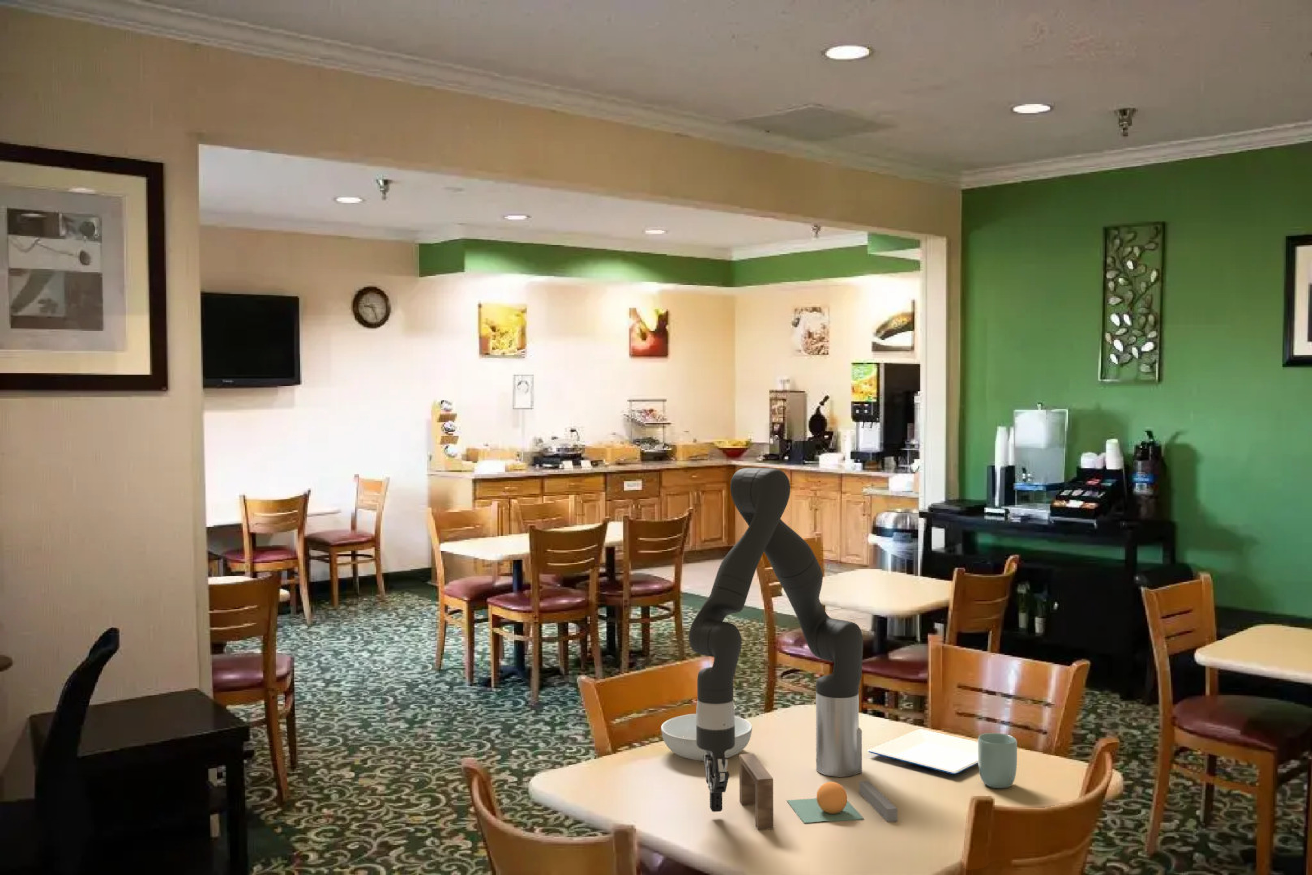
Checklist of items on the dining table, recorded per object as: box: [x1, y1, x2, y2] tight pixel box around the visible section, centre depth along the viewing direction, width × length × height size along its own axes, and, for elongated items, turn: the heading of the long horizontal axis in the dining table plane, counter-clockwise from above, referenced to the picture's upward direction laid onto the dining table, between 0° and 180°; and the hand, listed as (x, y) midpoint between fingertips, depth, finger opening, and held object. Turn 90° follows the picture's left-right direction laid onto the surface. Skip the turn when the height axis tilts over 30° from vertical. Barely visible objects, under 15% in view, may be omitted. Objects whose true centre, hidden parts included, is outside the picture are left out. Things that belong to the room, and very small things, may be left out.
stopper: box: [858, 779, 898, 823], centre depth 222 cm, size 2×16×2 cm, turn 9°
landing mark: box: [786, 797, 865, 824], centre depth 220 cm, size 12×12×1 cm
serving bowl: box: [660, 713, 753, 762], centre depth 255 cm, size 21×21×7 cm
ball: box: [816, 781, 848, 814], centre depth 219 cm, size 6×6×6 cm
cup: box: [977, 732, 1018, 789], centre depth 234 cm, size 8×8×10 cm
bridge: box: [738, 753, 774, 831], centre depth 218 cm, size 3×15×10 cm, turn 9°
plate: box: [867, 728, 978, 775], centre depth 253 cm, size 22×22×2 cm
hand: (716, 809), depth 217 cm, fingers closed
